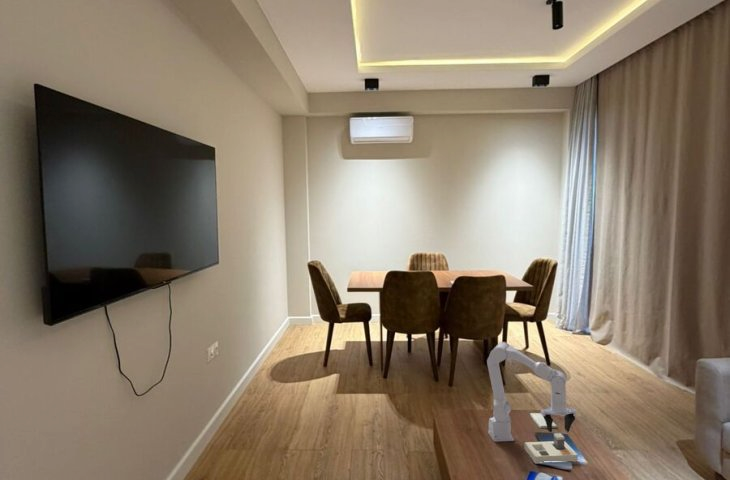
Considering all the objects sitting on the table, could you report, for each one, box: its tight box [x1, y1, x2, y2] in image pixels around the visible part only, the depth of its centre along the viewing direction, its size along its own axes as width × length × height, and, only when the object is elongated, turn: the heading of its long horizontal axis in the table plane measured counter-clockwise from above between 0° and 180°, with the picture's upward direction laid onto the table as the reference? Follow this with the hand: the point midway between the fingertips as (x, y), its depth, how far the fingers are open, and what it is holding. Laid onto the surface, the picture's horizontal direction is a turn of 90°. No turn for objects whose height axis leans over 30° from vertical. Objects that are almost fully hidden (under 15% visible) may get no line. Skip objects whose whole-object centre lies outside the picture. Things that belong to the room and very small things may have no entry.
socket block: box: [524, 440, 579, 464], centre depth 162 cm, size 18×10×3 cm, turn 92°
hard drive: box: [529, 412, 558, 429], centre depth 189 cm, size 2×8×12 cm
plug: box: [553, 432, 565, 450], centre depth 163 cm, size 3×3×8 cm
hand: (558, 430), depth 163 cm, fingers open, 7 cm apart
